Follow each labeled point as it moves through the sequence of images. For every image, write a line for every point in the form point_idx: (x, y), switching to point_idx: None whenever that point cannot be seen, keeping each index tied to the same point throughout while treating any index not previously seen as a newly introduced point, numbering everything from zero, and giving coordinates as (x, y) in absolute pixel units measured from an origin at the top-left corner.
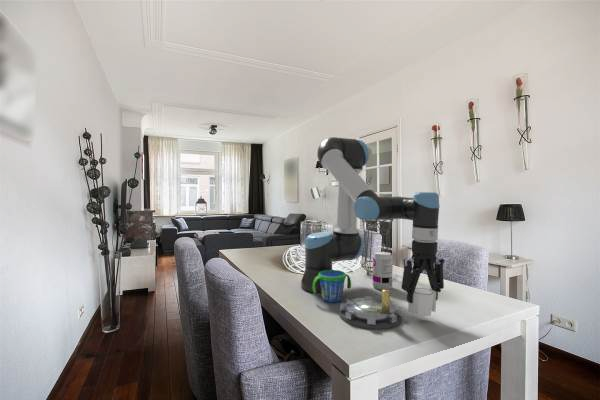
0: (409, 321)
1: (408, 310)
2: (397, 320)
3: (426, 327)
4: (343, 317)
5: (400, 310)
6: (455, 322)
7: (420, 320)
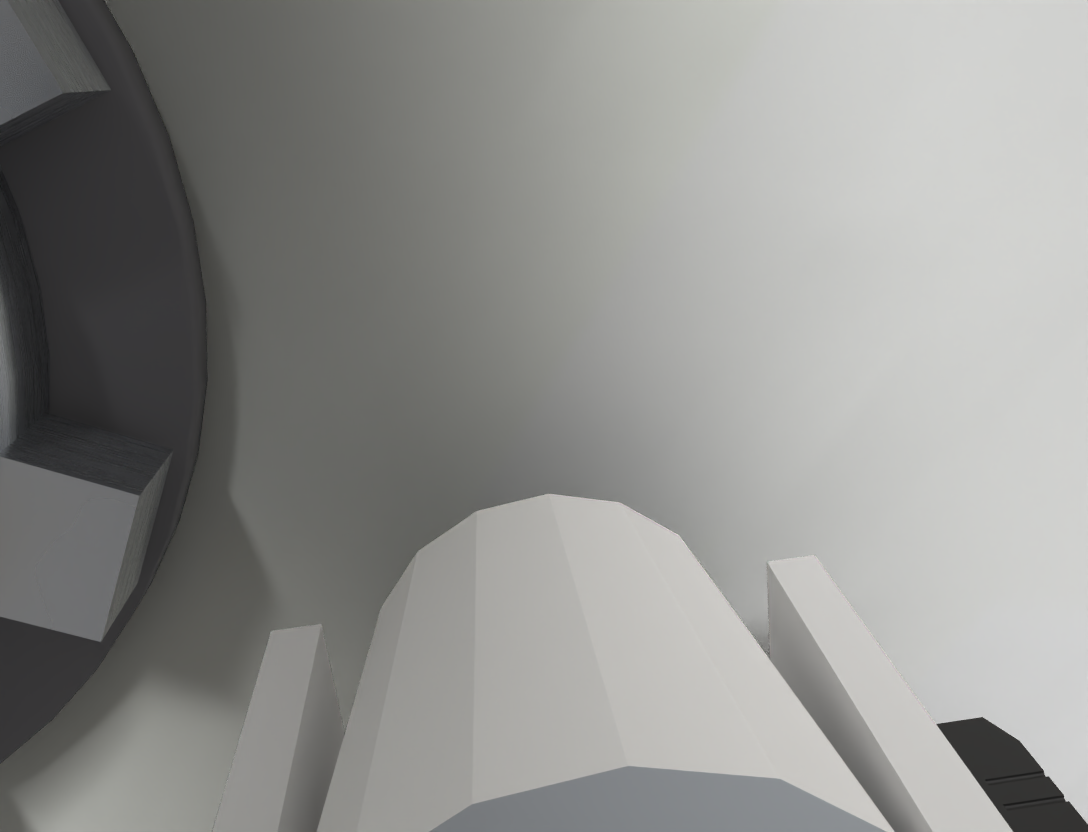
0: (295, 605)
1: (271, 645)
2: (12, 699)
3: None
4: None
5: (87, 634)
6: (1026, 701)
7: None
